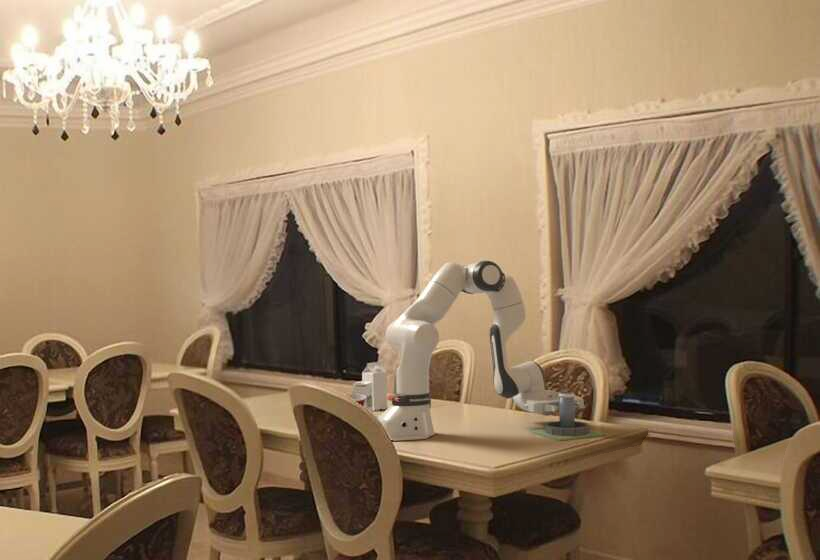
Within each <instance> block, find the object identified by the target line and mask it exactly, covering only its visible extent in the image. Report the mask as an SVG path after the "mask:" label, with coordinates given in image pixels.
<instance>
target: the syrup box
mask: <svg viewBox="0 0 820 560" xmlns="http://www.w3.org/2000/svg"><path fill="white" fill-rule="evenodd" d="M352 394H361V395H365V396H366V399H365V402H364V405H363V406H364V407H366V408H367V409H368V410H370V411H371V412H372V413H373V411H372V382H368V381H362V380H361V381H357V382H356V381H355V382H353V383H352Z"/></svg>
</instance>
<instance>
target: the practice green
mask: <svg viewBox="0 0 820 560" xmlns="http://www.w3.org/2000/svg"><path fill="white" fill-rule="evenodd" d="M590 427H591V426H590V424H589V423H588V422H583V421H576V420H575V428H560V420H559V421H557V420H556V421H550V422H549V421H548V422H547V423H545V424H544V428H537V429H530V430H529V433H533V434H534V435H539V436H542V437H545V438H548V439H552V440H555V441H559V442H562V441H570V440H572V441H573V440H581V439H589V438H596V437H597V436H598V437H604V435H606V436H607V433H605V432H601V431H597V430H595V429H591V428H590Z"/></svg>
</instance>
